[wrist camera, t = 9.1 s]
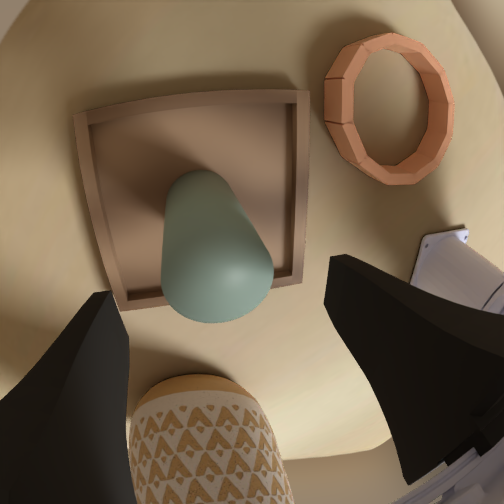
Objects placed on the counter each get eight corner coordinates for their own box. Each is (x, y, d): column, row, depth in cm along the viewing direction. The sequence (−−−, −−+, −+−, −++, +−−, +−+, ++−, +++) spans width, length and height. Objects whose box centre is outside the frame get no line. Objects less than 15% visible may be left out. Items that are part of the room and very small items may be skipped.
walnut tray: (294, 271, 22) (302, 282, 21) (122, 298, 20) (120, 311, 18) (299, 90, 16) (309, 90, 14) (81, 113, 13) (72, 114, 12)
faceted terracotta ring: (428, 175, 21) (445, 184, 19) (322, 177, 19) (338, 187, 17) (435, 56, 16) (454, 57, 14) (322, 24, 14) (340, 18, 12)
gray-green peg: (235, 229, 18) (273, 313, 11) (171, 238, 17) (172, 329, 11) (231, 166, 16) (274, 220, 9) (161, 174, 15) (150, 237, 9)
